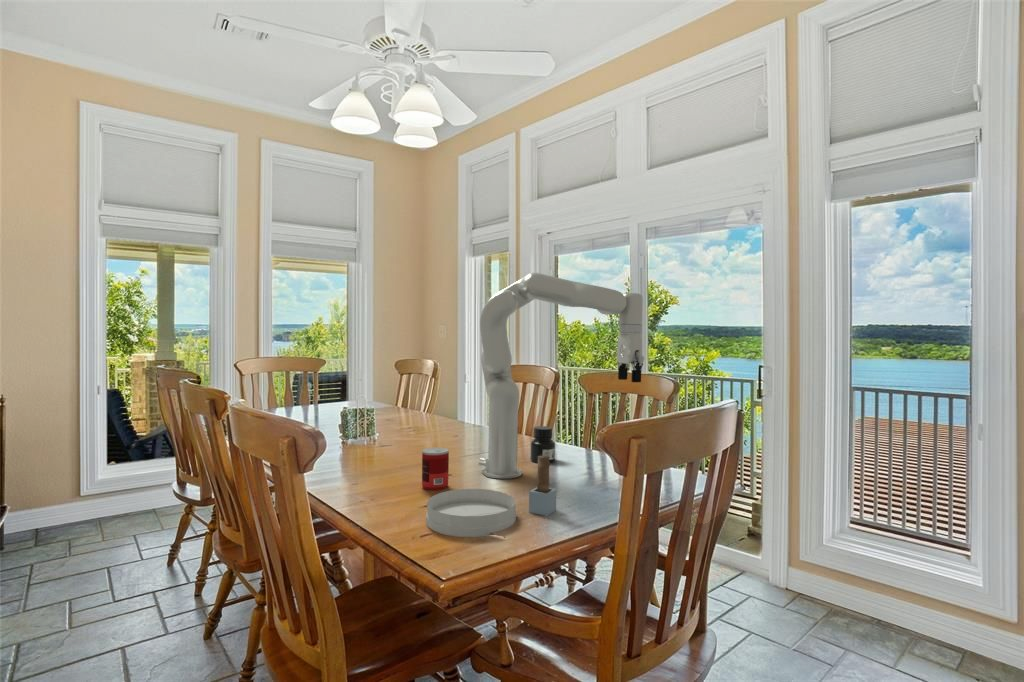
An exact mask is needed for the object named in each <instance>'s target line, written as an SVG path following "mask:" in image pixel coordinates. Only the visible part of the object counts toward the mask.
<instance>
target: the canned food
mask: <svg viewBox="0 0 1024 682" xmlns="http://www.w3.org/2000/svg"><path fill="white" fill-rule="evenodd" d="M449 454H450V451H449V449H448V448H445V447H428V448H427V447H426V448H425V449H423V450H422V453H421V455H422V456H421V472H422V473H421V487H422V488H423V489H424V490H428V491H440V490H444V489H446V488H447V487H448V486H449V466H450V465H449V463H450V462H449V461H450V459H449V457H450V455H449Z"/></svg>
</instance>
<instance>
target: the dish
mask: <svg viewBox="0 0 1024 682" xmlns="http://www.w3.org/2000/svg"><path fill="white" fill-rule="evenodd" d="M425 516H426V518H425V520H426V521H425V522H426V526H427V527H428V528H430V529H431V530H432V531H434V532H436V533H438V534H442V535H445V536H451V537H457V538H458V537H460V538H479V537H489V536H494V535H495V532H499V531H500V532H501V531H503V530H505V529H508V528H510V527H511V526H513V525H514V524H515V523H516V520H517V511H516V499H515V498H514V497H513V496H512V495H510V494H508V493H505V492H501V491H498V490H492V489H488V488H487V489H486V488H484V489H483V488H460V489H458V488H457V489H453V490H452V489H451V490H447V491H443V492H439V493H436V494H434V495H432V496H431V497H430V498H428V499H427V502H426V513H425Z"/></svg>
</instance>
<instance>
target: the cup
mask: <svg viewBox="0 0 1024 682" xmlns="http://www.w3.org/2000/svg"><path fill="white" fill-rule="evenodd" d="M528 499H529V501H528V502H529V503H528V504H529V505H528V513H530V514H535V515H541V516H546V517H548V516H549V515H551V514H553V513H554V512H556V511H557V489H556V488H552V487H549V492H548V493H542V492H537V486H536V487H535V488H532V489H531V490H529V497H528Z"/></svg>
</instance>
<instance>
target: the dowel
mask: <svg viewBox="0 0 1024 682" xmlns="http://www.w3.org/2000/svg"><path fill="white" fill-rule="evenodd" d="M536 471H537V476H536V477H537V482H536V484H537V485H536V487H537V492H542V493H548V492H549V488H550V463H549V456H538V463H537V470H536Z"/></svg>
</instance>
